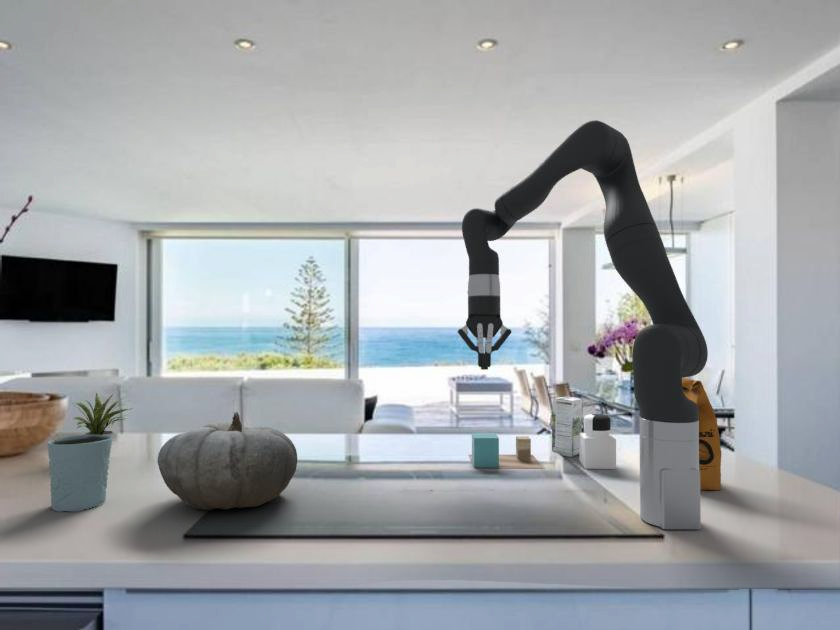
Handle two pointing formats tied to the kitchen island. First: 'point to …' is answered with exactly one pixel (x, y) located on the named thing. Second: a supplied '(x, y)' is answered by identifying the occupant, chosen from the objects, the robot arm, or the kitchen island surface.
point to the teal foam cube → (485, 450)
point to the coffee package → (706, 436)
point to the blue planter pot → (79, 471)
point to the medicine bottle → (597, 443)
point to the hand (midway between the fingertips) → (484, 369)
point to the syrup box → (566, 425)
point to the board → (513, 463)
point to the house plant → (99, 417)
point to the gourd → (227, 465)
